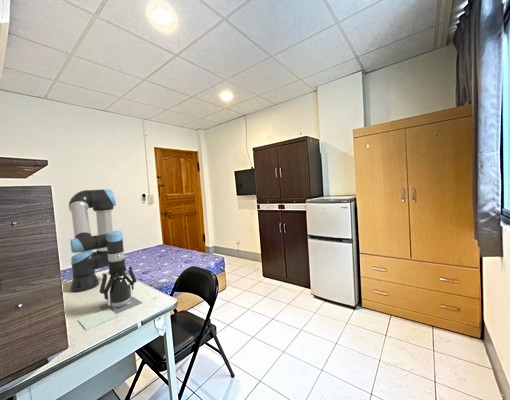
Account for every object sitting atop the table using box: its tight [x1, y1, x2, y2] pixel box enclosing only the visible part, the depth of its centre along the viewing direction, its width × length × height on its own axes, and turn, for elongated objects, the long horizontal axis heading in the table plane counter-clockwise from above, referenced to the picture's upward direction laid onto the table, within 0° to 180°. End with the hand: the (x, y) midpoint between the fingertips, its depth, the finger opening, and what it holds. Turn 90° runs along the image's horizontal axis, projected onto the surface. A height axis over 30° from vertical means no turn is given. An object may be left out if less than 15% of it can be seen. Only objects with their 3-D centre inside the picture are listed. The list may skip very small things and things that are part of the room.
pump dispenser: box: [108, 276, 131, 307], centre depth 123 cm, size 10×10×15 cm
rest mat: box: [77, 308, 119, 331], centre depth 111 cm, size 13×13×1 cm
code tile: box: [98, 296, 143, 315], centre depth 124 cm, size 16×16×1 cm
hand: (120, 300), depth 123 cm, fingers closed on pump dispenser, 10 cm apart
